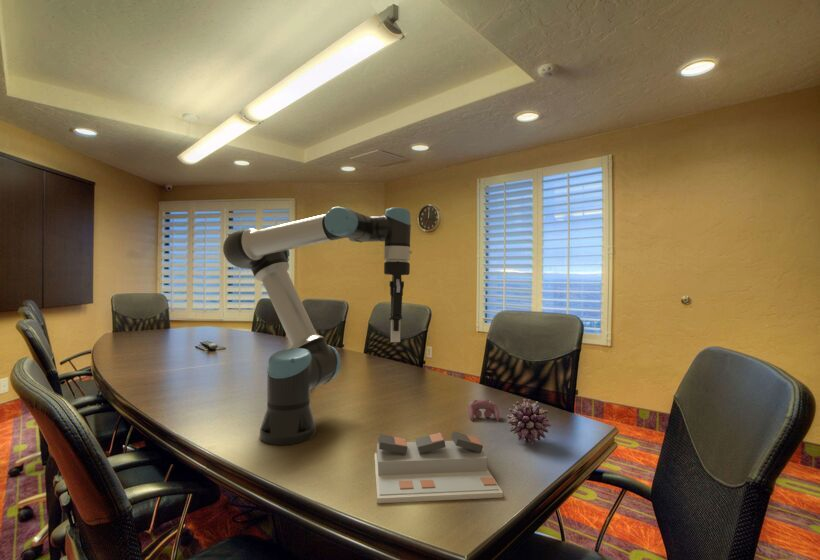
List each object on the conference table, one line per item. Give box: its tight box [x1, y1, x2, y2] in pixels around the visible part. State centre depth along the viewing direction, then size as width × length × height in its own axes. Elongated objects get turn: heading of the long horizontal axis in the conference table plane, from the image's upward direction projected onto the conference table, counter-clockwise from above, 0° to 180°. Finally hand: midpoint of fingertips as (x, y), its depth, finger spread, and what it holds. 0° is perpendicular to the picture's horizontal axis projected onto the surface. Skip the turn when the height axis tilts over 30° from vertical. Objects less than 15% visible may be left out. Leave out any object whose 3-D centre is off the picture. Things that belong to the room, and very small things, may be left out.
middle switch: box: [414, 432, 446, 454], centre depth 92 cm, size 6×5×2 cm
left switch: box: [377, 433, 408, 454], centre depth 91 cm, size 6×5×2 cm
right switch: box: [450, 431, 483, 453], centre depth 94 cm, size 6×5×2 cm
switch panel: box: [374, 440, 504, 504], centre depth 89 cm, size 26×20×4 cm
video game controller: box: [467, 398, 500, 422], centre depth 126 cm, size 10×5×7 cm, turn 93°
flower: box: [506, 398, 552, 445], centre depth 108 cm, size 12×12×12 cm
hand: (395, 341), depth 113 cm, fingers closed
